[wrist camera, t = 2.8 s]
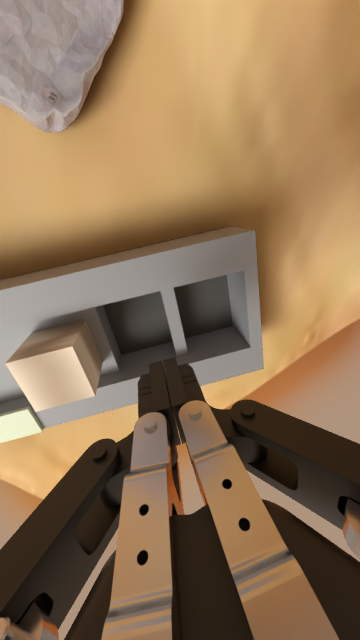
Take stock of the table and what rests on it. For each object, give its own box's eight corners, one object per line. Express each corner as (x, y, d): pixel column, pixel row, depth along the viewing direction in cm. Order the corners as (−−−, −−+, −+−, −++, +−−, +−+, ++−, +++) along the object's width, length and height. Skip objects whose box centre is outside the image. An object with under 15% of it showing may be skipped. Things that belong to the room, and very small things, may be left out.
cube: (85, 319, 18) (72, 346, 15) (102, 362, 20) (95, 396, 16) (31, 332, 18) (5, 363, 14) (54, 375, 20) (35, 412, 16)
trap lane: (231, 226, 20) (257, 230, 16) (243, 343, 25) (265, 370, 21) (-95, 302, 19) (-165, 330, 14) (-14, 410, 24) (-47, 456, 19)
